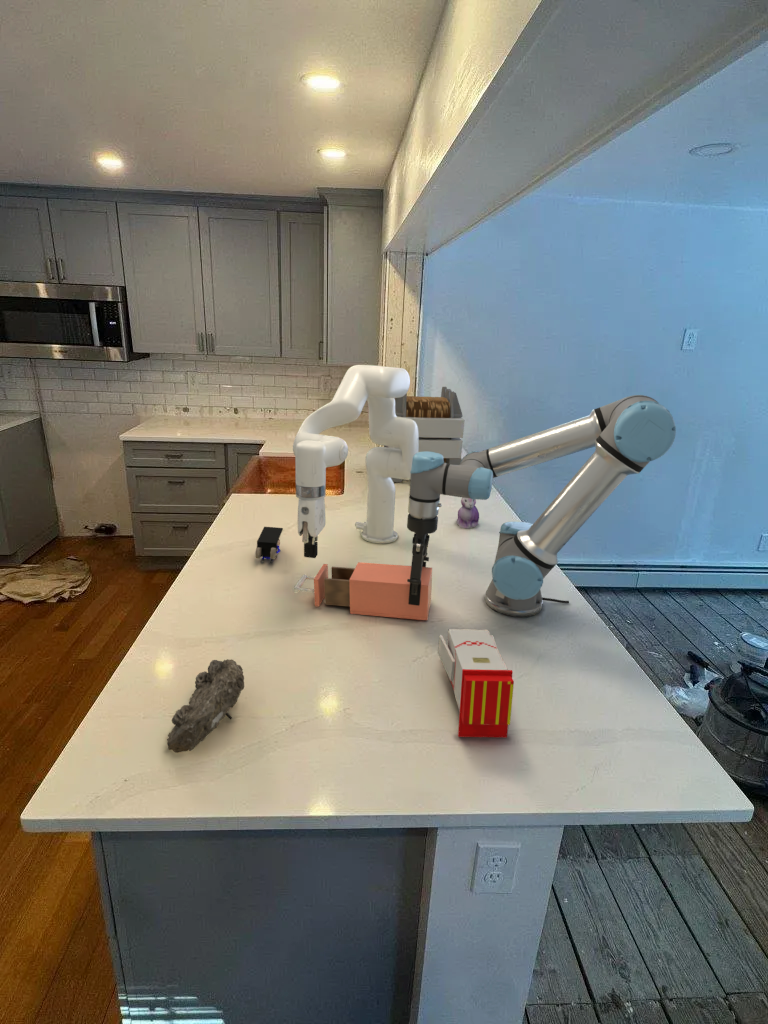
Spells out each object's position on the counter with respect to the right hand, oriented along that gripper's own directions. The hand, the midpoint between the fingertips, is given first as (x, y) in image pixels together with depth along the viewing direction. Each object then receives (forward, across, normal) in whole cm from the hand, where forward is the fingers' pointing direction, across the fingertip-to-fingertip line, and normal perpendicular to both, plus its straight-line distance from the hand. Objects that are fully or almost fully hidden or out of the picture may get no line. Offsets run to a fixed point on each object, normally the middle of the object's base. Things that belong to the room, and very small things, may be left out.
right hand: (416, 593), depth 148 cm
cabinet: (+5, 0, +6) cm, 8 cm away
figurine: (+5, +69, -11) cm, 70 cm away
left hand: (-7, 0, +29) cm, 29 cm away
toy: (+5, -31, -15) cm, 35 cm away
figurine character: (+6, +22, +49) cm, 54 cm away
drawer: (+5, 0, +20) cm, 20 cm away
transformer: (+5, +133, +14) cm, 134 cm away
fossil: (+5, -50, +33) cm, 60 cm away
